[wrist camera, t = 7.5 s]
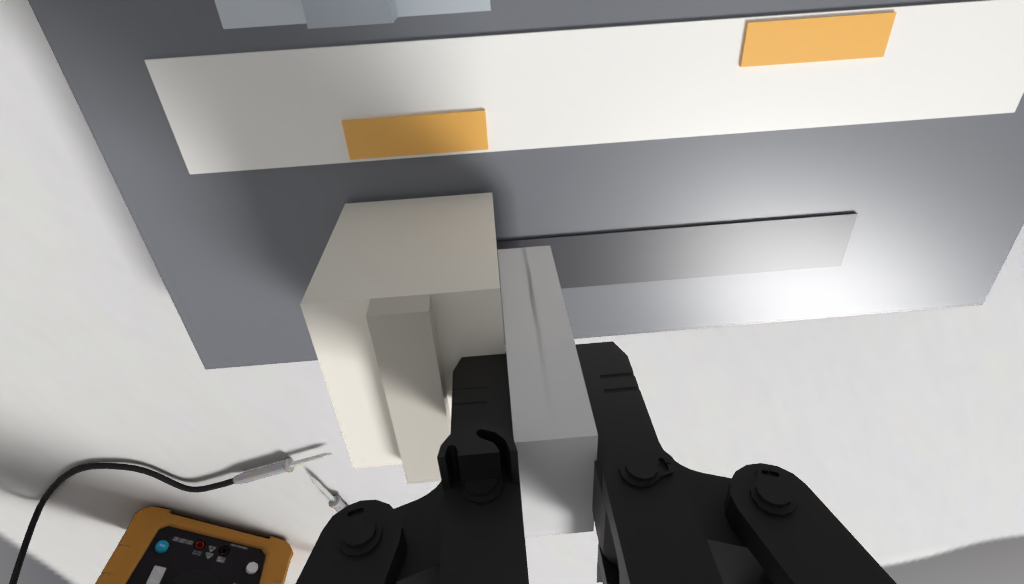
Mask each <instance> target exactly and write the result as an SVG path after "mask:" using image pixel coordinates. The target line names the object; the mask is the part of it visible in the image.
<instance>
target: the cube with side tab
mask: <svg viewBox="0 0 1024 584" xmlns="http://www.w3.org/2000/svg"><path fill="white" fill-rule="evenodd" d="M214 1H215V4H216V7H217V10H218V13H219V17H220V20H221V23H222V26H223V29H233V28H248V27H262V26H277V25H291V24H305V23H307V27H308V29H313V28H327V27H342V26H356V25H370V24H385V23H394V21H395V20H396V19H397V18H398V17H406V16H420V15H435V14H449V13H464V12H478V11H491V6H490V0H214Z"/></svg>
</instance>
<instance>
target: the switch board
mask: <svg viewBox="0 0 1024 584" xmlns="http://www.w3.org/2000/svg"><path fill="white" fill-rule="evenodd" d="M28 1H29V3H30V5H31V7H32V9H33V11H34V13H35V15H36V18H37V20H38V22H39V24H40V26H41V28H42V30H43V32H44V34H45V36H46V38H47V40H48V43H49V45H50V47H51V49H52V51H53V53H54V55H55V57H56V59H57V61H58V63H59V65H60V68H61V70H62V72H63V74H64V76H65V78H66V80H67V82H68V84H69V86H70V88H71V90H72V93H73V95H74V97H75V99H76V101H77V103H78V105H79V107H80V109H81V111H82V113H83V115H84V118H85V120H86V122H87V124H88V126H89V128H90V130H91V132H92V134H93V136H94V138H95V140H96V142H97V145H98V147H99V149H100V151H101V153H102V155H103V157H104V159H105V161H106V163H107V165H108V167H109V170H110V172H111V174H112V176H113V178H114V180H115V182H116V184H117V186H118V188H119V190H120V192H121V195H122V197H123V199H124V201H125V203H126V205H127V207H128V209H129V211H130V213H131V215H132V217H133V220H134V222H135V224H136V226H137V228H138V230H139V232H140V234H141V236H142V238H143V240H144V242H145V245H146V247H147V249H148V251H149V253H150V255H151V257H152V259H153V261H154V263H155V265H156V267H157V270H158V272H159V274H160V276H161V278H162V280H163V282H164V284H165V286H166V288H167V290H168V292H169V295H170V297H171V299H172V301H173V303H174V305H175V307H176V309H177V311H178V313H179V315H180V317H181V320H182V322H183V324H184V326H185V328H186V330H187V332H188V334H189V336H190V338H191V340H192V342H193V345H194V347H195V349H196V351H197V353H198V355H199V357H200V359H201V361H202V363H203V365H204V367H205V369H216V368H228V367H240V366H252V365H264V364H276V363H288V362H300V361H312V360H318V358H317V355H316V352H315V349H314V346H313V343H312V340H311V336H310V333H309V330H308V327H307V324H306V321H305V318H304V315H303V312H302V309H301V306H300V303H301V301H302V299H303V297H304V295H305V292H306V290H307V288H308V286H309V283H310V281H311V279H312V277H313V274H314V272H315V270H316V268H317V265H318V263H319V261H320V259H321V257H322V254H323V252H324V250H325V248H326V245H327V243H328V241H329V239H330V236H331V234H332V232H333V230H334V228H335V225H336V223H337V221H338V219H339V216H340V214H341V212H342V210H343V207H344V205H345V204H348V203H361V202H374V201H387V200H400V199H413V198H426V197H439V196H452V195H465V194H478V193H491V192H492V196H493V208H494V220H495V231H496V243H497V255H498V250H499V249H512V248H524V247H536V246H549V245H550V247H551V251H552V255H553V259H554V263H555V267H556V271H557V275H558V279H559V283H560V287H561V290H562V294H563V298H564V302H565V306H566V310H567V314H568V318H569V322H570V326H571V330H572V334H573V338H574V339H577V338H589V337H601V336H613V335H625V334H637V333H649V332H661V331H673V330H685V329H697V328H709V327H721V326H733V325H745V324H757V323H769V322H782V321H794V320H806V319H818V318H830V317H842V316H854V315H866V314H878V313H890V312H902V311H914V310H926V309H938V308H950V307H962V306H974V305H983V303H984V301H985V299H986V297H987V295H988V293H989V291H990V289H991V287H992V285H993V283H994V281H995V279H996V277H997V275H998V273H999V271H1000V269H1001V267H1002V265H1003V263H1004V261H1005V259H1006V258H1007V256H1008V254H1009V252H1010V250H1011V248H1012V246H1013V244H1014V242H1015V240H1016V238H1017V236H1018V234H1019V232H1020V230H1021V228H1022V226H1023V224H1024V0H490V6H491V11H478V12H464V13H449V14H435V15H420V16H406V17H398V18H397V19H396V20H395V21H394V23H385V24H370V25H356V26H342V27H327V28H313V29H308V27H307V23H305V24H291V25H277V26H262V27H248V28H233V29H223V26H222V23H221V20H220V17H219V13H218V10H217V7H216V4H215V1H214V0H28ZM498 267H499V260H498ZM499 279H500V273H499ZM500 291H501V286H500ZM501 304H502V299H501ZM502 316H503V312H502ZM503 329H504V325H503ZM504 341H505V337H504Z"/></svg>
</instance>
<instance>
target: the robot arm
mask: <svg viewBox="0 0 1024 584" xmlns="http://www.w3.org/2000/svg"><path fill="white" fill-rule="evenodd" d="M498 260H499V273H500V286H501V299H502V312H503V325H504V337H505V349H506V352H505V354H494V355H482V356H470V357H461V359H460V361H459V362H458V364H457V366H456V367H455V369H454V371H453V380H452V408H451V433H450V435H449V436H448V437H447V438H446V440H445V441H444V442H443V443H442V444H441V446H440V449H439V453H438V456H437V460H438V465H439V471H440V476H441V482H440V484H439V485H438V486H437V487H436V488H435V489H434V490H432V491H431V492H430V493H429V494H427V495H425V496H424V497H422V498H420V499H418V500H416V501H413V502H410V503H408V504H405V505H403V506H400V507H398V508H395V509H393V508H392V507H391V506H390V505H389V504H387V503H384V502H381V501H378V500H364V501H359V502H356V503H353V504H351V505H348V506H346V507H344V508H343V509H342V510H340V511H339V512H338V513H336V514H335V515H334V516H332V518H331V519H330V521H329V522H328V523H327V525H326V526H325V527H324V529H323V530H322V532H321V534H320V536H319V538H318V540H317V542H316V544H315V546H314V548H313V550H312V552H311V554H310V556H309V558H308V560H307V562H306V564H305V566H304V568H303V570H302V572H301V574H300V576H299V578H298V580H297V582H296V584H529V579H528V568H527V557H526V546H525V537H536V536H547V535H558V534H567V533H578V532H589V531H593V529H594V521H595V526H596V531H597V536H598V540H599V544H598V562H597V582H603V584H896V583H895V581H894V580H893V579H892V578H891V577H890V576H889V575H888V574H887V573H886V572H885V571H884V570H883V568H882V567H881V566H880V565H879V564H878V563H877V562H876V561H875V560H874V558H873V557H872V556H871V555H870V554H869V553H868V552H867V551H866V550H865V549H864V547H863V546H862V545H861V544H860V543H859V542H858V541H857V540H856V539H855V538H854V536H853V535H852V534H851V533H850V532H849V531H848V530H847V529H846V528H845V527H844V526H843V524H842V523H841V522H840V521H839V520H838V519H837V518H836V517H835V516H834V515H833V513H832V512H831V511H830V510H829V509H828V508H827V507H826V506H825V505H824V504H823V502H822V501H821V500H820V499H819V498H818V497H817V496H816V495H815V494H814V493H813V492H812V490H811V489H810V488H809V487H808V486H807V485H806V484H805V483H804V482H802V481H801V480H800V479H799V478H798V477H796V476H795V475H794V474H793V473H791V472H788V471H786V470H784V469H782V468H780V467H778V466H773V465H768V464H762V463H759V464H751V465H746V466H744V467H742V468H741V469H739V470H737V471H736V472H735V474H734V475H733V477H732V479H731V478H726V477H721V476H716V475H710V474H705V473H701V472H697V471H694V470H690V469H688V468H686V467H684V466H682V465H680V464H679V463H677V462H676V461H674V460H673V458H672V457H671V456H670V455H669V454H668V453H666V452H665V451H664V450H663V448H662V447H661V445H660V443H659V441H658V438H657V436H656V433H655V430H654V427H653V425H652V422H651V419H650V416H649V414H648V411H647V408H646V406H645V403H644V400H643V397H642V395H641V392H640V390H639V388H638V384H637V381H636V378H635V376H634V374H633V370H632V367H631V365H630V362H629V359H628V356H627V355H626V354H625V353H624V352H623V351H622V350H621V349H620V348H619V347H618V346H617V345H616V344H615V343H614V342H602V343H590V344H578V345H575V342H574V338H573V334H572V330H571V326H570V322H569V318H568V314H567V310H566V306H565V302H564V298H563V294H562V290H561V287H560V283H559V279H558V275H557V271H556V267H555V263H554V259H553V255H552V251H551V247H550V245H549V246H536V247H524V248H512V249H499V250H498Z"/></svg>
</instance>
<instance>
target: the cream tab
mask: <svg viewBox="0 0 1024 584" xmlns="http://www.w3.org/2000/svg"><path fill="white" fill-rule="evenodd" d="M300 306H301V309H302V312H303V315H304V318H305V321H306V324H307V327H308V330H309V333H310V336H311V340H312V343H313V346H314V349H315V352H316V355H317V358H318V361H319V364H320V367H321V370H322V373H323V376H324V379H325V382H326V386H327V389H328V392H329V395H330V398H331V401H332V404H333V407H334V410H335V413H336V416H337V419H338V422H339V425H340V428H341V431H342V435H343V438H344V441H345V444H346V447H347V450H348V453H349V456H350V459H351V462H352V465H353V468H354V469H355V468H366V467H377V466H389V465H400V464H403V468H404V472H405V476H406V480H407V484H411V483H422V482H434V481H441V476H440V471H439V465H438V460H437V456H438V453H439V449H440V446H441V444H442V443H443V442H444V441H445V440H446V438H447V437H448V436H449V435H450V433H451V408H452V380H453V371H454V369H455V367H456V366H457V364H458V362H459V361H460V359H461V357H470V356H482V355H494V354H505V341H504V329H503V316H502V304H501V291H500V279H499V267H498V255H497V243H496V231H495V220H494V208H493V196H492V192H491V193H478V194H465V195H452V196H439V197H426V198H413V199H400V200H387V201H374V202H361V203H348V204H345V205H344V207H343V210H342V212H341V214H340V216H339V219H338V221H337V223H336V225H335V228H334V230H333V232H332V234H331V236H330V239H329V241H328V243H327V245H326V248H325V250H324V252H323V254H322V257H321V259H320V261H319V263H318V265H317V268H316V270H315V272H314V274H313V277H312V279H311V281H310V283H309V286H308V288H307V290H306V292H305V295H304V297H303V299H302V301H301V303H300Z"/></svg>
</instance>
